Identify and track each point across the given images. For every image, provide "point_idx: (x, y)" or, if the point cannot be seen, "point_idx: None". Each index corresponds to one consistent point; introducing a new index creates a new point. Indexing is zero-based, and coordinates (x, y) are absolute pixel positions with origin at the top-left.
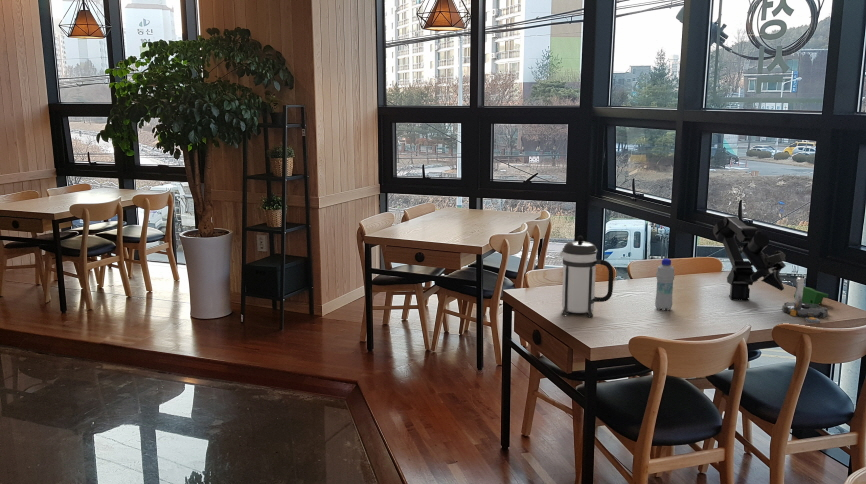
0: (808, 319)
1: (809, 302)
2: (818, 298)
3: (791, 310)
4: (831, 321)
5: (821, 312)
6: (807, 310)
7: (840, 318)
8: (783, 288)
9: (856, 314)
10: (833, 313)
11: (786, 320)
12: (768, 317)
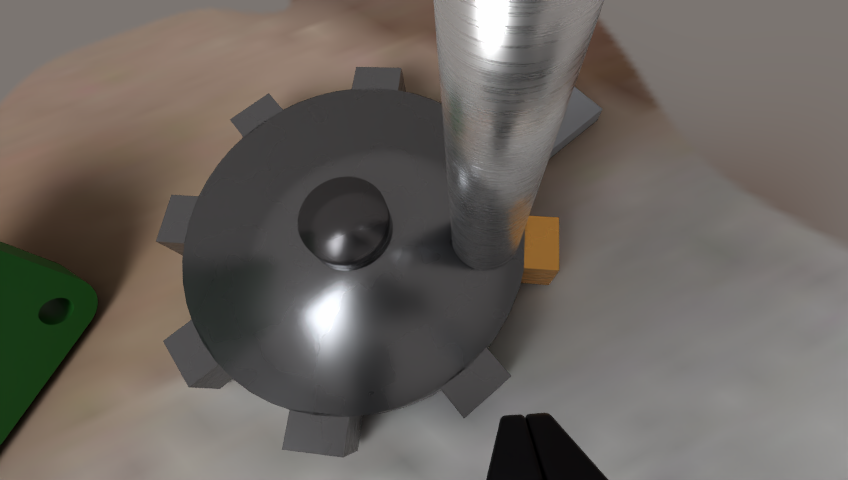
0: (580, 114)
1: (56, 336)
2: (11, 249)
3: (557, 265)
4: (426, 46)
5: (398, 84)
6: (442, 167)
7: (307, 46)
8: (529, 419)
9: (140, 35)
10: (212, 120)
11: (710, 240)
12: (796, 399)
